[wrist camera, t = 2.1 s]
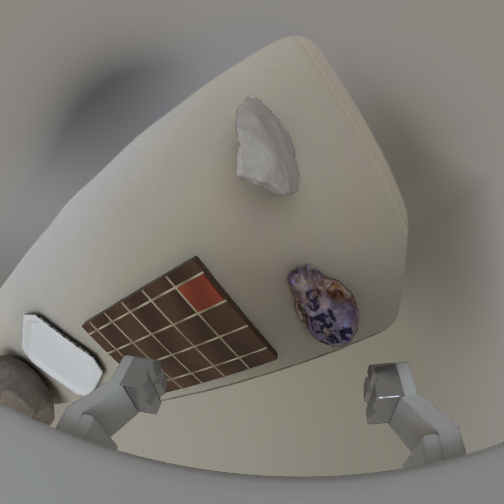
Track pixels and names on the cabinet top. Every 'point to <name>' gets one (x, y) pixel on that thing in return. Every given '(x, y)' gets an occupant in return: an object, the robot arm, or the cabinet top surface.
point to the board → (182, 328)
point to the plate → (59, 355)
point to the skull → (324, 306)
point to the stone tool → (264, 149)
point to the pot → (25, 390)
